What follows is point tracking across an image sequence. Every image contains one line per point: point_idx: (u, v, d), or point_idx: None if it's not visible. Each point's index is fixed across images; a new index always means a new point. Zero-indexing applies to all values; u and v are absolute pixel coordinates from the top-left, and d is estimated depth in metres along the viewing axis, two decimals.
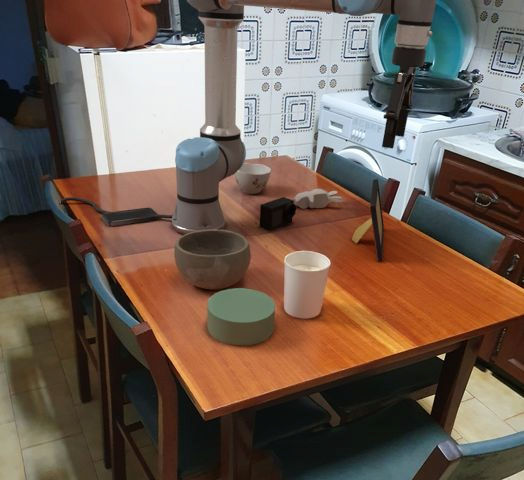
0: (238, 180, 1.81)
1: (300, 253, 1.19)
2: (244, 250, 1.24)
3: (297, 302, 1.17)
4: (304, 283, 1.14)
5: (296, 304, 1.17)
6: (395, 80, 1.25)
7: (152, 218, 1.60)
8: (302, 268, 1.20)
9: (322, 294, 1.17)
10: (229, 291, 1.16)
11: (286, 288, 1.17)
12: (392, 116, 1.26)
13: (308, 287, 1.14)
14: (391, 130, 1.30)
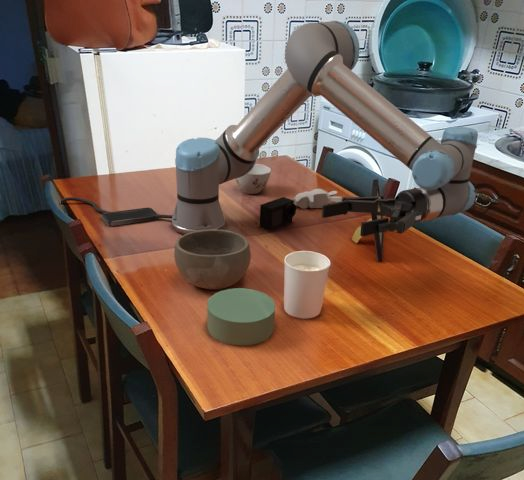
0: (238, 180, 1.81)
1: (300, 253, 1.19)
2: (244, 250, 1.24)
3: (297, 302, 1.17)
4: (304, 283, 1.14)
5: (296, 304, 1.17)
6: None
7: (152, 218, 1.60)
8: (302, 268, 1.20)
9: (322, 294, 1.17)
10: (229, 291, 1.16)
11: (286, 288, 1.17)
12: None
13: (308, 287, 1.14)
14: None
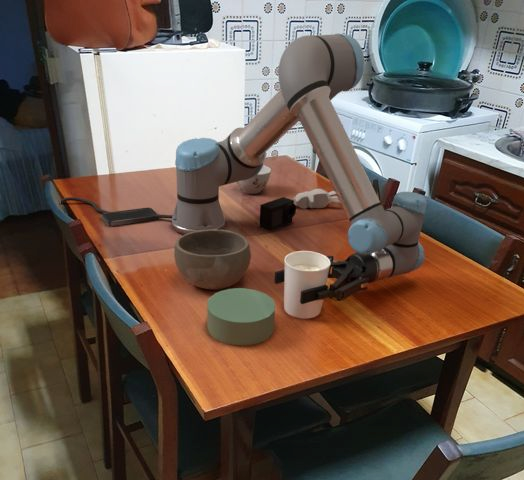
0: None
1: (300, 253, 1.19)
2: (244, 250, 1.24)
3: (297, 302, 1.17)
4: (304, 283, 1.14)
5: (296, 304, 1.17)
6: None
7: (152, 218, 1.60)
8: (302, 268, 1.20)
9: None
10: (229, 291, 1.16)
11: (286, 288, 1.17)
12: None
13: (308, 287, 1.14)
14: None
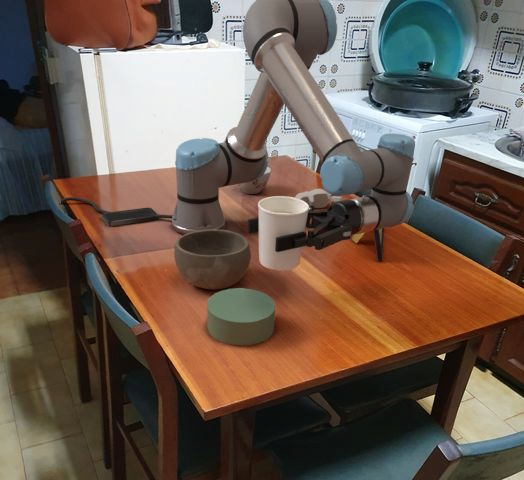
0: None
1: (276, 199, 1.08)
2: (244, 250, 1.24)
3: (272, 251, 1.06)
4: (280, 229, 1.03)
5: (271, 253, 1.06)
6: None
7: (152, 218, 1.60)
8: None
9: None
10: (229, 291, 1.16)
11: (260, 236, 1.06)
12: None
13: (284, 234, 1.03)
14: None
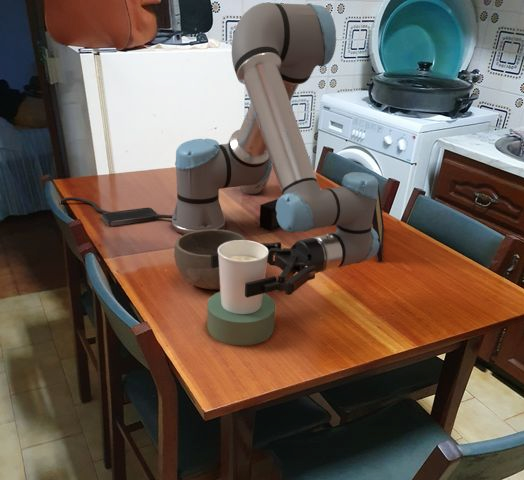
0: None
1: (237, 242, 1.09)
2: None
3: (232, 296, 1.06)
4: (238, 275, 1.03)
5: (232, 298, 1.07)
6: None
7: (152, 218, 1.60)
8: (240, 259, 1.10)
9: None
10: None
11: (221, 281, 1.07)
12: None
13: (243, 280, 1.04)
14: None
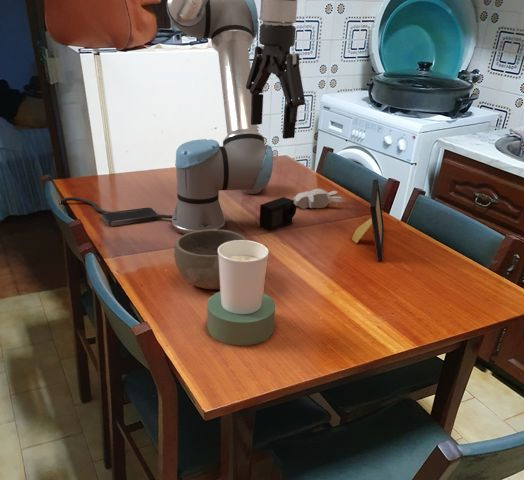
0: None
1: (237, 242, 1.09)
2: None
3: (232, 296, 1.06)
4: (238, 275, 1.03)
5: (232, 298, 1.07)
6: (291, 63, 1.12)
7: (152, 218, 1.60)
8: (240, 259, 1.10)
9: (260, 287, 1.07)
10: None
11: (221, 281, 1.07)
12: (301, 103, 1.15)
13: (243, 280, 1.04)
14: (295, 118, 1.18)
